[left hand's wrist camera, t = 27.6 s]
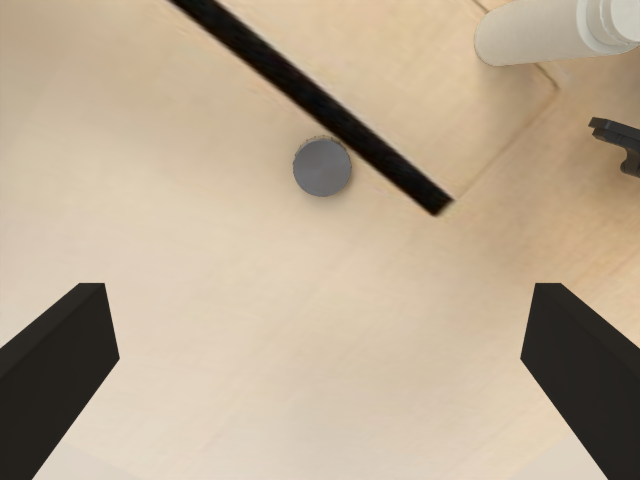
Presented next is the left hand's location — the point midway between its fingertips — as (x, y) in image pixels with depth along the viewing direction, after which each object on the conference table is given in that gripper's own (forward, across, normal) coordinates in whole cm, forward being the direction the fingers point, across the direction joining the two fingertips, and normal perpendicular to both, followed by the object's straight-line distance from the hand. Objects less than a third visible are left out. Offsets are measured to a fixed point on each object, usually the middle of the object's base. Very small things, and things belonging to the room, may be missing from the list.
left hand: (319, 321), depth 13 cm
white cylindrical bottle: (+28, +15, +11) cm, 33 cm away
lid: (+26, 0, 0) cm, 26 cm away
